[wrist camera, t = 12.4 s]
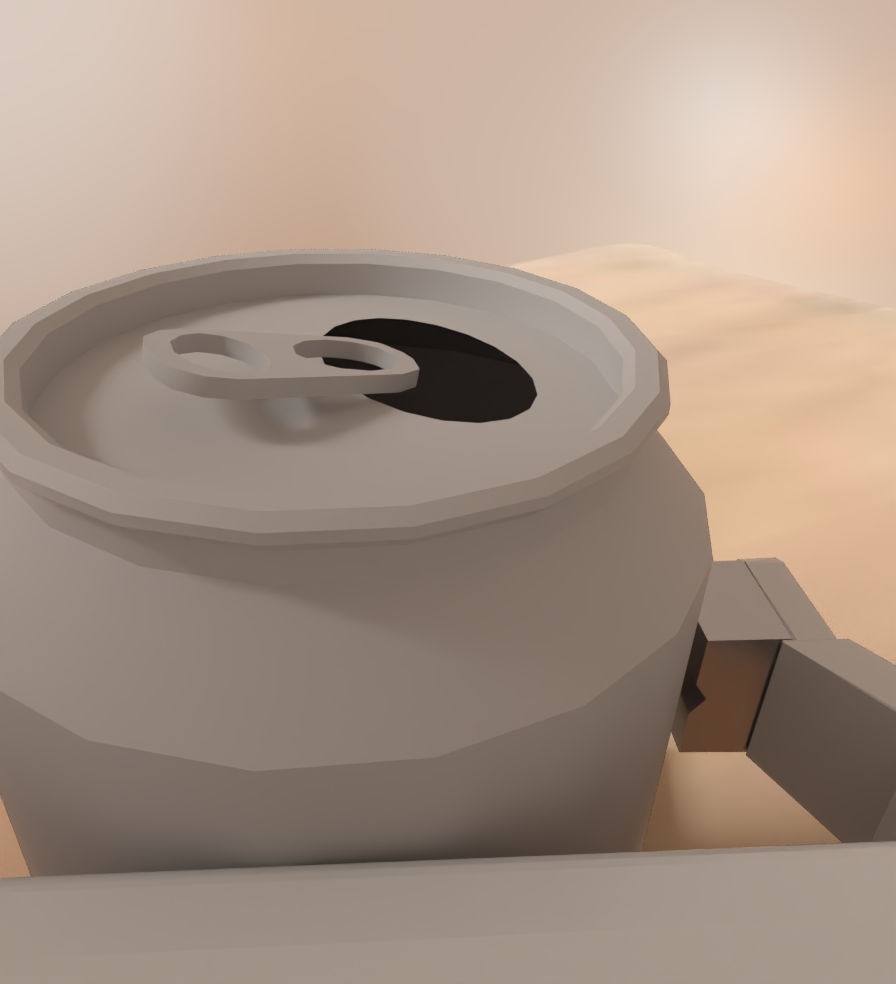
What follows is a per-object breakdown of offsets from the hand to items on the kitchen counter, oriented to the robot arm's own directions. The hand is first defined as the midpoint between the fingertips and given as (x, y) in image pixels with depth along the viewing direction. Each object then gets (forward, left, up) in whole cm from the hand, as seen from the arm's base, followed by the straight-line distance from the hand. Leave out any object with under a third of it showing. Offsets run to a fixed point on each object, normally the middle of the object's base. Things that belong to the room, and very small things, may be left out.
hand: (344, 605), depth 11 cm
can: (-1, -1, -8) cm, 8 cm away
